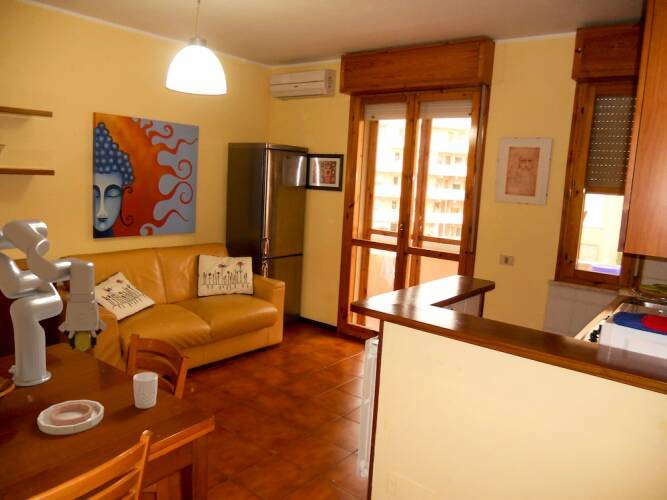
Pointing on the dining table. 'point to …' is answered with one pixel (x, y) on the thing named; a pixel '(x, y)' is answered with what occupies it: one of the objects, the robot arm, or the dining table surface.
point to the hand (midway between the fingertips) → (83, 347)
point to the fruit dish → (70, 417)
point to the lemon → (83, 340)
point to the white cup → (145, 389)
